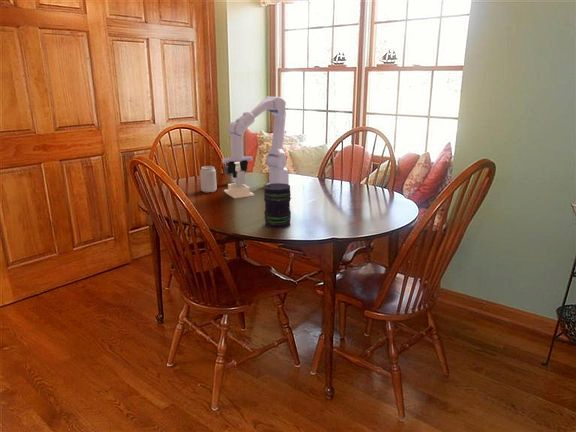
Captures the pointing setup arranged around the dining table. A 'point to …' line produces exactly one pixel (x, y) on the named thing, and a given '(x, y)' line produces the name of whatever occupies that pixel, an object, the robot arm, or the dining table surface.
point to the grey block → (239, 176)
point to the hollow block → (238, 190)
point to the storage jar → (277, 205)
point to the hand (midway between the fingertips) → (238, 177)
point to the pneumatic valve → (228, 170)
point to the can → (208, 179)
